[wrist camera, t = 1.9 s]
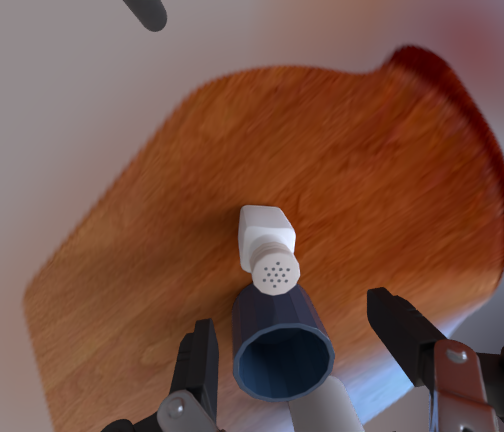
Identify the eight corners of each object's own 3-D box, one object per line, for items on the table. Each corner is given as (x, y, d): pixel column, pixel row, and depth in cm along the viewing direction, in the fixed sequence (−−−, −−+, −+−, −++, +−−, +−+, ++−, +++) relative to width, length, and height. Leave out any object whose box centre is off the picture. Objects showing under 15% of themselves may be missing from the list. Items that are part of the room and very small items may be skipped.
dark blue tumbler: (218, 330, 29) (216, 388, 23) (252, 265, 27) (261, 310, 21) (287, 351, 31) (303, 411, 25) (324, 292, 29) (353, 341, 23)
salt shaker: (240, 202, 25) (248, 245, 16) (281, 205, 25) (311, 248, 16) (237, 240, 26) (242, 300, 17) (276, 242, 27) (301, 301, 18)
